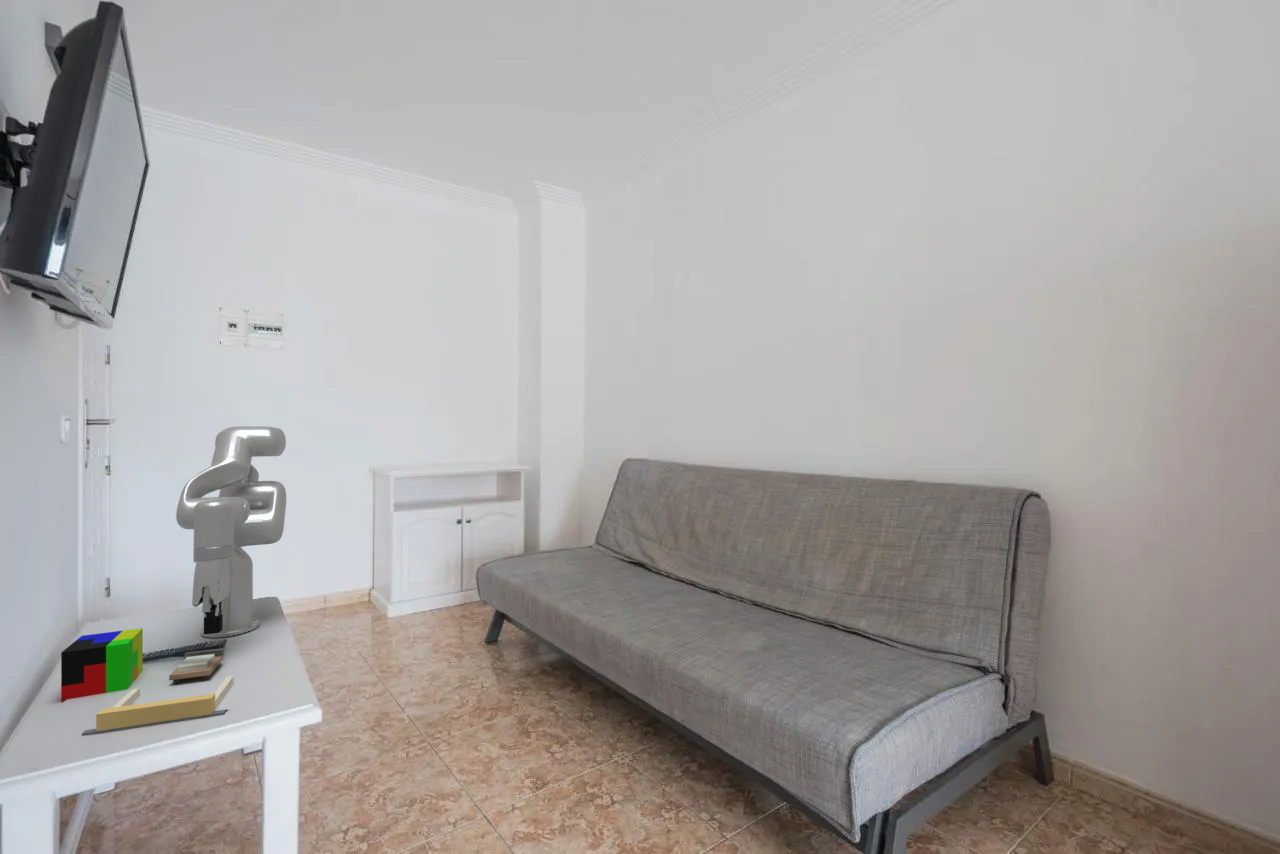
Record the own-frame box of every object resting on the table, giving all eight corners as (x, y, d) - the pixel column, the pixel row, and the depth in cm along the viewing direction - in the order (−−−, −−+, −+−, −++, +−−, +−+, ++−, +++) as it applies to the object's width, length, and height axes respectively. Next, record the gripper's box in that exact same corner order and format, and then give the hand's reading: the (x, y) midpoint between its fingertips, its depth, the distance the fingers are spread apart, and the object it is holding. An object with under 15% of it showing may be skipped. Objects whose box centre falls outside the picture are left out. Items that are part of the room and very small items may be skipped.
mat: (147, 674, 125) (147, 659, 125) (260, 660, 132) (260, 646, 132) (81, 735, 100) (81, 716, 100) (224, 714, 108) (224, 696, 108)
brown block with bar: (186, 668, 127) (186, 652, 127) (223, 664, 129) (223, 648, 129) (169, 686, 118) (169, 668, 118) (209, 680, 121) (209, 663, 121)
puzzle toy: (81, 682, 121) (81, 635, 121) (142, 673, 126) (142, 628, 126) (61, 703, 112) (61, 652, 112) (127, 692, 117) (127, 643, 117)
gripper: (205, 549, 139) (205, 625, 138) (181, 560, 125) (180, 645, 124) (242, 546, 141) (241, 621, 141) (222, 557, 127) (221, 640, 127)
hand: (213, 632), depth 132 cm, fingers closed
